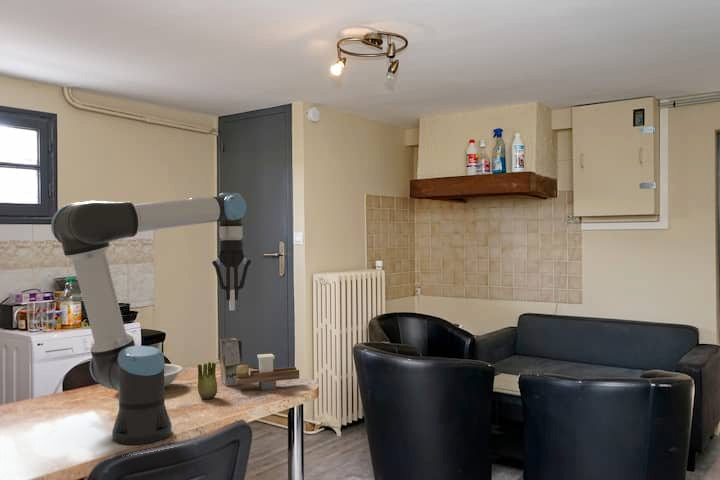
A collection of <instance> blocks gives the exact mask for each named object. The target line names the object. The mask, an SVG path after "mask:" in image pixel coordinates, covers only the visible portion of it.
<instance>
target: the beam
mask: <svg viewBox="0 0 720 480" xmlns="http://www.w3.org/2000/svg"><path fill="white" fill-rule="evenodd" d="M249 367H250V365H249V364H242V365H239V366H237V376H235V382H236V384H240V385H246V384H255V383H258V388H259V389H260V390H261V392H267V390H268V391H276V390H277V381H288V380H297V379H298V380H299V379H300V370H299V369H297V367H296V366H291V367H278V368H273V372H266V373H259V369H256V370H254V369H253V370H250V369H249ZM249 372H250V373H249Z"/></svg>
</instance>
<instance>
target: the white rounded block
mask: <svg viewBox="0 0 720 480" xmlns="http://www.w3.org/2000/svg"><path fill="white" fill-rule="evenodd" d="M256 356H257V357H256V358H257V359H258V370H259V373H266V372H273V369H274V360H275V355H274V354H273V353H263V354H262V353H261V354H260V353H259V354H257V355H256Z"/></svg>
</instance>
